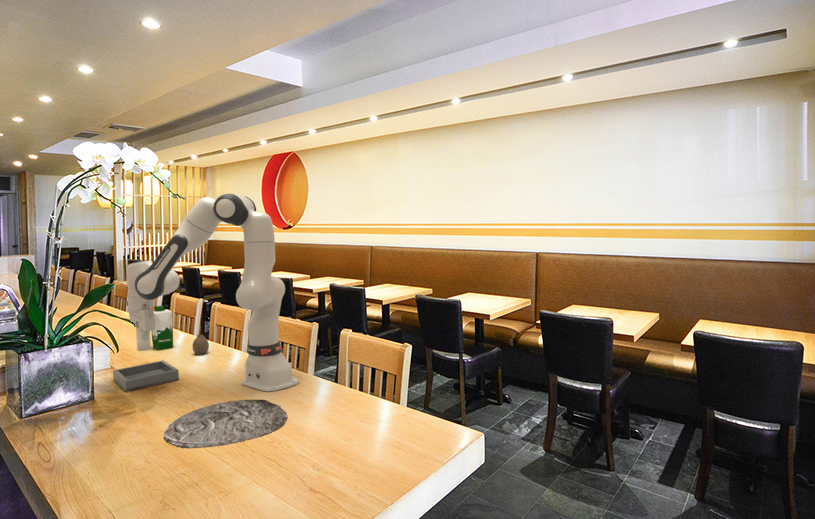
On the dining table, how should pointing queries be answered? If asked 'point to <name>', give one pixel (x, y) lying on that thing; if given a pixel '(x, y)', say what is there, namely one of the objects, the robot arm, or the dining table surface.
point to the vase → (200, 345)
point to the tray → (145, 375)
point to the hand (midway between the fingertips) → (143, 338)
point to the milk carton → (162, 329)
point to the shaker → (141, 343)
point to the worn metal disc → (225, 424)
